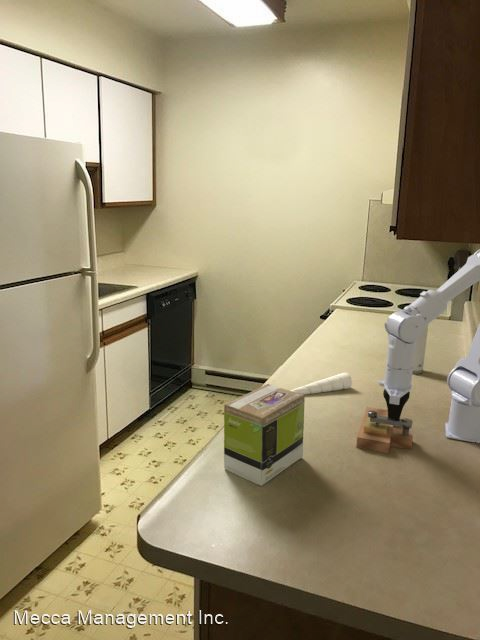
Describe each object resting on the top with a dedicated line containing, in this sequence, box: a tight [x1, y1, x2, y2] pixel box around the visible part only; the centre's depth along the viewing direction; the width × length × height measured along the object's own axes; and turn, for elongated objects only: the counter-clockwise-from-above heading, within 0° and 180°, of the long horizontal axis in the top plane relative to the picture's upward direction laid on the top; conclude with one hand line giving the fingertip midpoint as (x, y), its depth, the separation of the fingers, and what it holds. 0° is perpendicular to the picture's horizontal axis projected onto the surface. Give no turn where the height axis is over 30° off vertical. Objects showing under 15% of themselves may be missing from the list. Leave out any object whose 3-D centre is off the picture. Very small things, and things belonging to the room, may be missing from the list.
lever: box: [368, 410, 413, 430], centre depth 114 cm, size 10×2×2 cm, turn 72°
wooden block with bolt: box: [364, 416, 388, 436], centre depth 116 cm, size 5×6×2 cm
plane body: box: [355, 406, 414, 454], centre depth 118 cm, size 12×18×4 cm, turn 159°
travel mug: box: [412, 324, 429, 375], centre depth 161 cm, size 6×7×20 cm
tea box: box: [223, 383, 306, 487], centre depth 103 cm, size 15×10×15 cm, turn 141°
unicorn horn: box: [289, 372, 353, 396], centre depth 143 cm, size 5×24×5 cm, turn 110°
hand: (393, 421), depth 115 cm, fingers closed, pressing on lever
